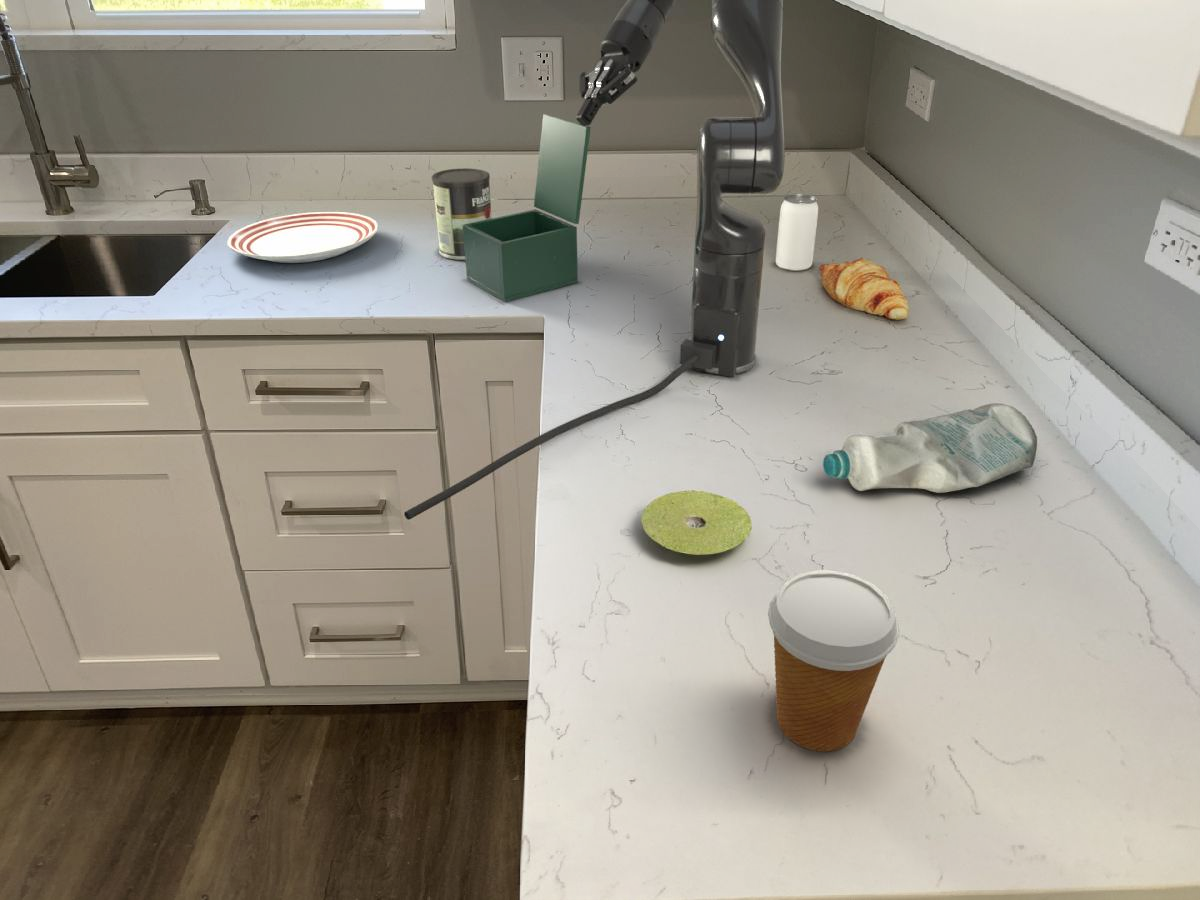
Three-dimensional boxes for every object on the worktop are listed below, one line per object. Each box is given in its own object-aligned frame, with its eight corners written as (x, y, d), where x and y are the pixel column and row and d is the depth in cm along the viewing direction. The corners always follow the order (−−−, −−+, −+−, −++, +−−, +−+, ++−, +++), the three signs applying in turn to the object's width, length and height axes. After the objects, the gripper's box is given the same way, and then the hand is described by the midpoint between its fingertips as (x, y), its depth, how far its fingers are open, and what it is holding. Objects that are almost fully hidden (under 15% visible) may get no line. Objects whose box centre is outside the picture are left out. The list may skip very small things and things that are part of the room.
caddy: (504, 302, 151) (501, 244, 146) (466, 280, 160) (462, 224, 155) (577, 282, 158) (576, 226, 153) (537, 262, 167) (535, 209, 162)
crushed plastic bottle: (981, 431, 114) (794, 455, 108) (998, 381, 109) (805, 404, 104) (1049, 496, 103) (847, 527, 98) (1070, 444, 99) (860, 473, 93)
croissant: (915, 341, 145) (942, 295, 142) (875, 324, 139) (903, 276, 137) (829, 294, 161) (852, 252, 159) (791, 277, 155) (814, 233, 153)
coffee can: (503, 245, 175) (499, 170, 168) (478, 263, 167) (472, 185, 160) (456, 239, 178) (449, 165, 171) (428, 256, 170) (420, 179, 163)
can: (810, 259, 168) (817, 193, 161) (813, 272, 162) (821, 204, 156) (774, 258, 168) (780, 193, 162) (776, 271, 163) (782, 203, 156)
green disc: (691, 492, 103) (692, 478, 102) (772, 536, 96) (774, 521, 95) (618, 534, 96) (619, 518, 95) (700, 584, 89) (701, 568, 88)
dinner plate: (198, 263, 167) (193, 246, 166) (287, 220, 190) (284, 204, 188) (329, 280, 160) (326, 261, 158) (406, 232, 182) (404, 216, 180)
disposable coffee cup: (803, 786, 69) (822, 668, 63) (734, 700, 76) (745, 586, 70) (903, 742, 72) (930, 626, 66) (828, 664, 80) (846, 553, 73)
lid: (586, 127, 146) (590, 127, 147) (543, 114, 155) (547, 114, 155) (574, 224, 153) (578, 224, 153) (533, 206, 161) (537, 206, 162)
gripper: (593, 22, 154) (542, 108, 152) (646, 13, 144) (593, 104, 142) (620, 54, 159) (571, 137, 157) (673, 48, 149) (622, 136, 147)
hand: (582, 122), depth 149 cm, fingers closed
